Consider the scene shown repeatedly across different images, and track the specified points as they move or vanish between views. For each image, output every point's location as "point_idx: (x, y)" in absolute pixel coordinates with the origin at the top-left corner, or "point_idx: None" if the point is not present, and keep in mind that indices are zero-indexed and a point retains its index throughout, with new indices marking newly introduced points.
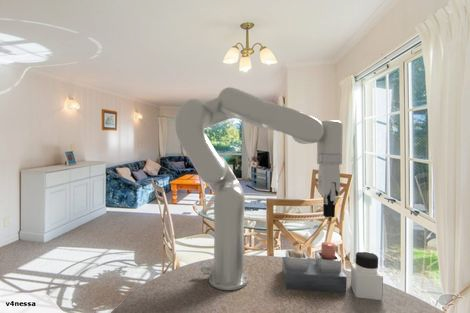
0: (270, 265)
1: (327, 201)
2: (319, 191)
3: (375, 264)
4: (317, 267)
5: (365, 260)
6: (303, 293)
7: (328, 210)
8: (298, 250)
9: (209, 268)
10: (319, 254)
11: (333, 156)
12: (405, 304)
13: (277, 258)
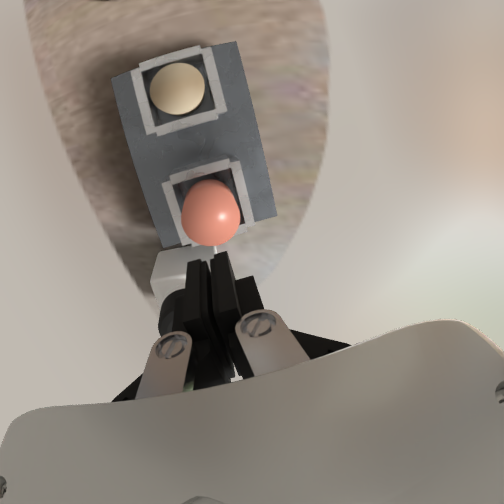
0: (256, 19)
1: (150, 378)
2: (266, 398)
3: None
4: (189, 162)
5: (158, 323)
6: (121, 131)
7: (176, 320)
8: (198, 91)
9: None
10: (210, 172)
11: None
12: None
13: (315, 36)
